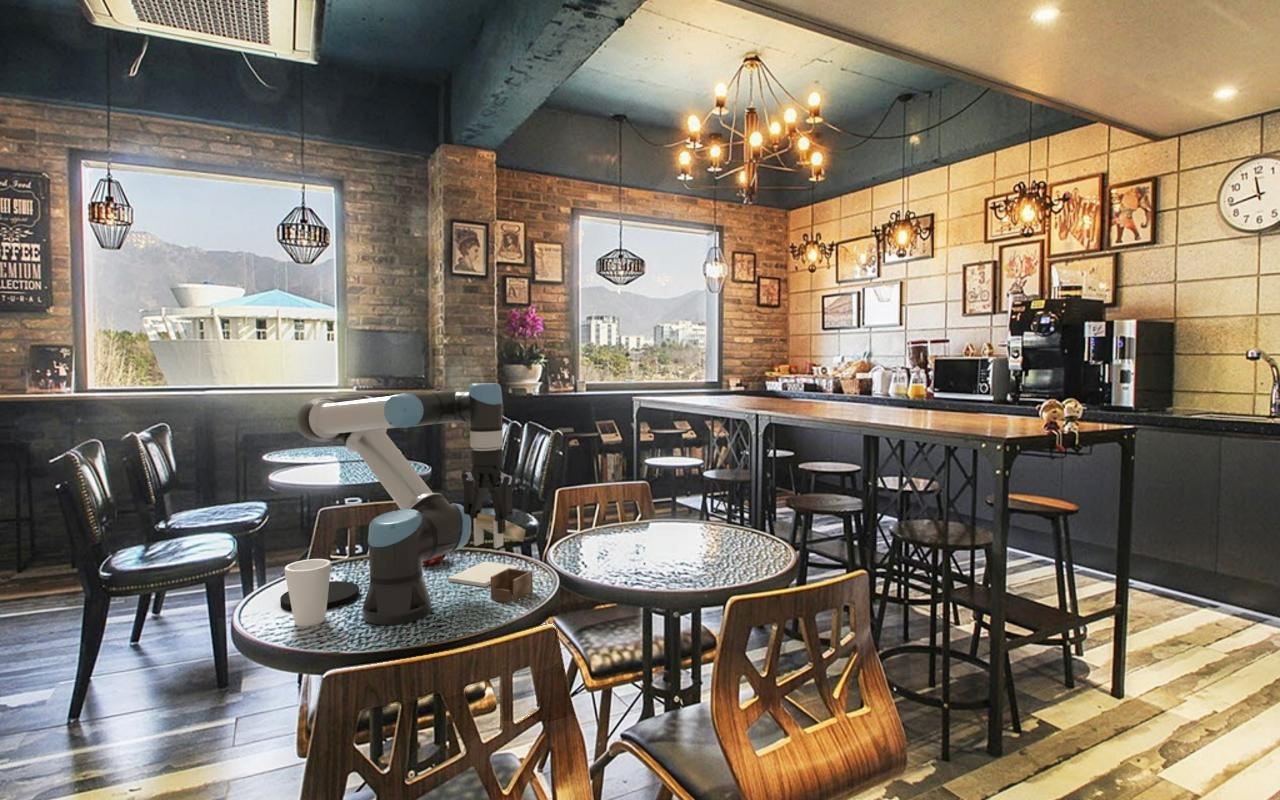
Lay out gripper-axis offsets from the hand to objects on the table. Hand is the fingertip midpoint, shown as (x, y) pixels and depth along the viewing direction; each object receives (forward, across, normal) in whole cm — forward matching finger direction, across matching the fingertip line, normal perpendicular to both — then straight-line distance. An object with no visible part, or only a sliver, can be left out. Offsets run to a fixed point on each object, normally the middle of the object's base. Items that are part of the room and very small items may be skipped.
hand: (488, 545), depth 162 cm
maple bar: (-2, 0, -4) cm, 5 cm away
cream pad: (+15, +16, -20) cm, 30 cm away
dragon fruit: (+16, +38, -23) cm, 47 cm away
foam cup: (+15, +33, +23) cm, 43 cm away
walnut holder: (+15, 0, -9) cm, 17 cm away
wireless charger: (+16, +43, +12) cm, 47 cm away
